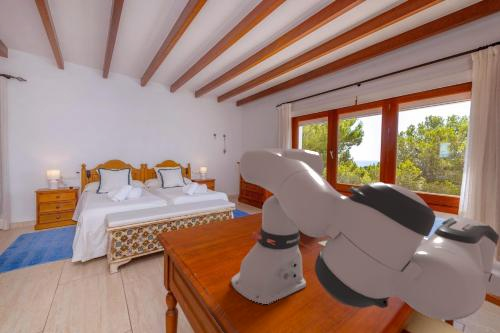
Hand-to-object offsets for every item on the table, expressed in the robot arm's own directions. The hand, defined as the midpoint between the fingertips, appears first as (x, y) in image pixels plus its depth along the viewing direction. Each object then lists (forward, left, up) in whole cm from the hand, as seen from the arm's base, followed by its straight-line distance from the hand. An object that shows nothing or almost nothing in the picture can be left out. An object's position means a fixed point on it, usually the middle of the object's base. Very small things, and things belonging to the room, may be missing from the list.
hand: (389, 240), depth 76 cm
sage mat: (-5, +18, -7) cm, 19 cm away
